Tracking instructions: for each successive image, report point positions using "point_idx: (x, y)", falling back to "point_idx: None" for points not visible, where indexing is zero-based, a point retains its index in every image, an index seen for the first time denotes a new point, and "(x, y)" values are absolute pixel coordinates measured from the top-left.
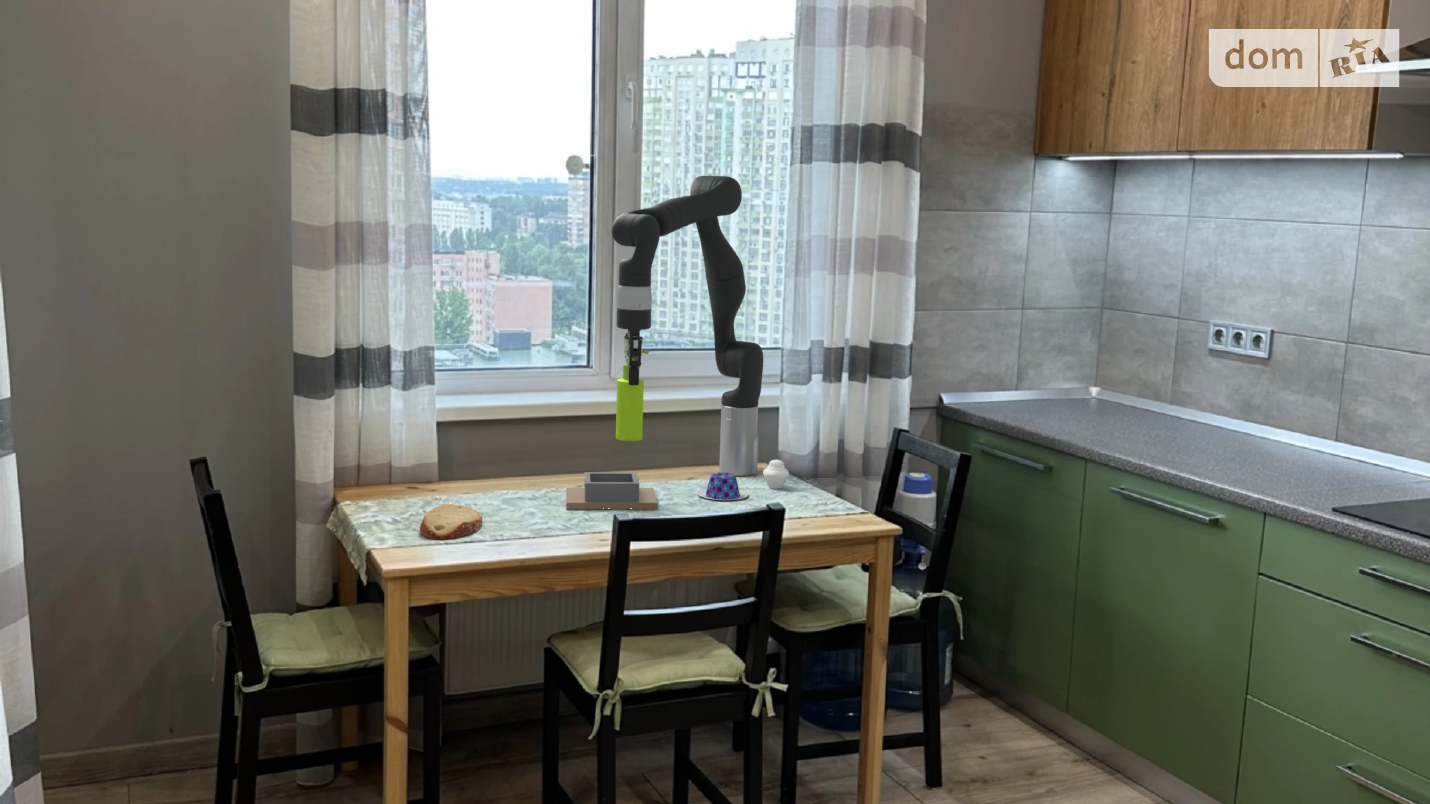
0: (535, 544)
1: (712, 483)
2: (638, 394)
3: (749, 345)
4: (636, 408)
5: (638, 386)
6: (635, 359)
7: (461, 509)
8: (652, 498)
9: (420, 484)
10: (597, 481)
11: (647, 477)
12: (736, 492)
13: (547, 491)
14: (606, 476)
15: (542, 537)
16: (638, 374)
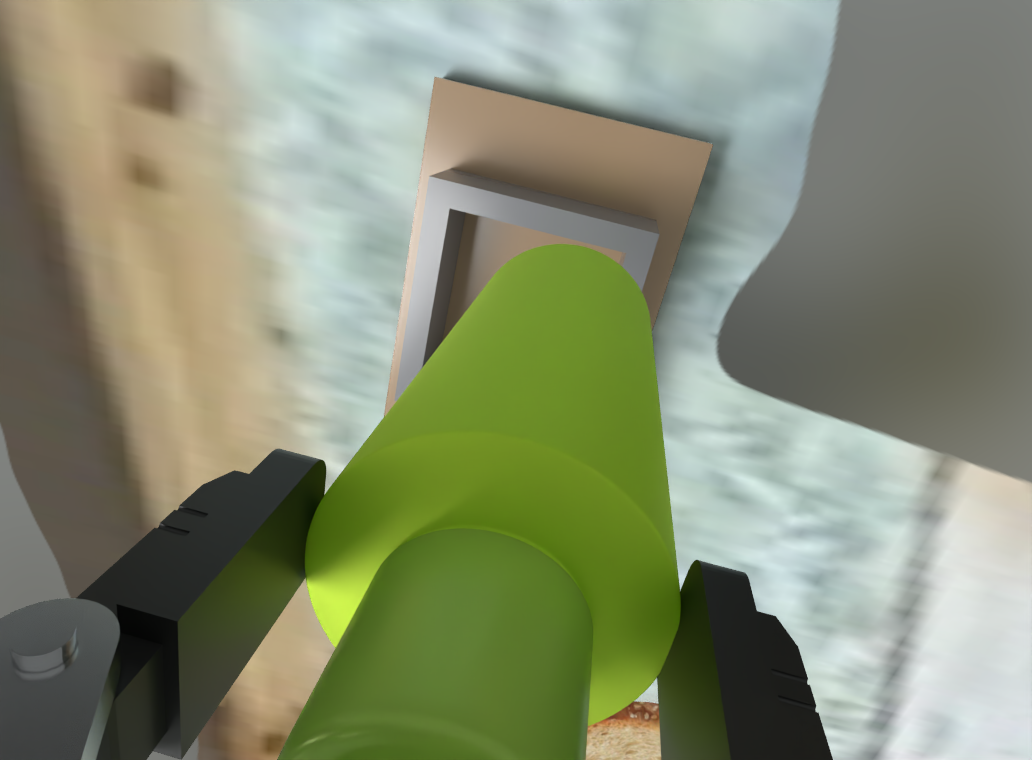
0: (983, 661)
1: None
2: (663, 461)
3: None
4: (659, 408)
5: (668, 521)
6: (100, 741)
7: (602, 750)
8: (627, 143)
9: (238, 722)
10: (433, 344)
11: (132, 5)
12: None
13: (345, 458)
14: (434, 316)
15: (915, 625)
16: (775, 700)
